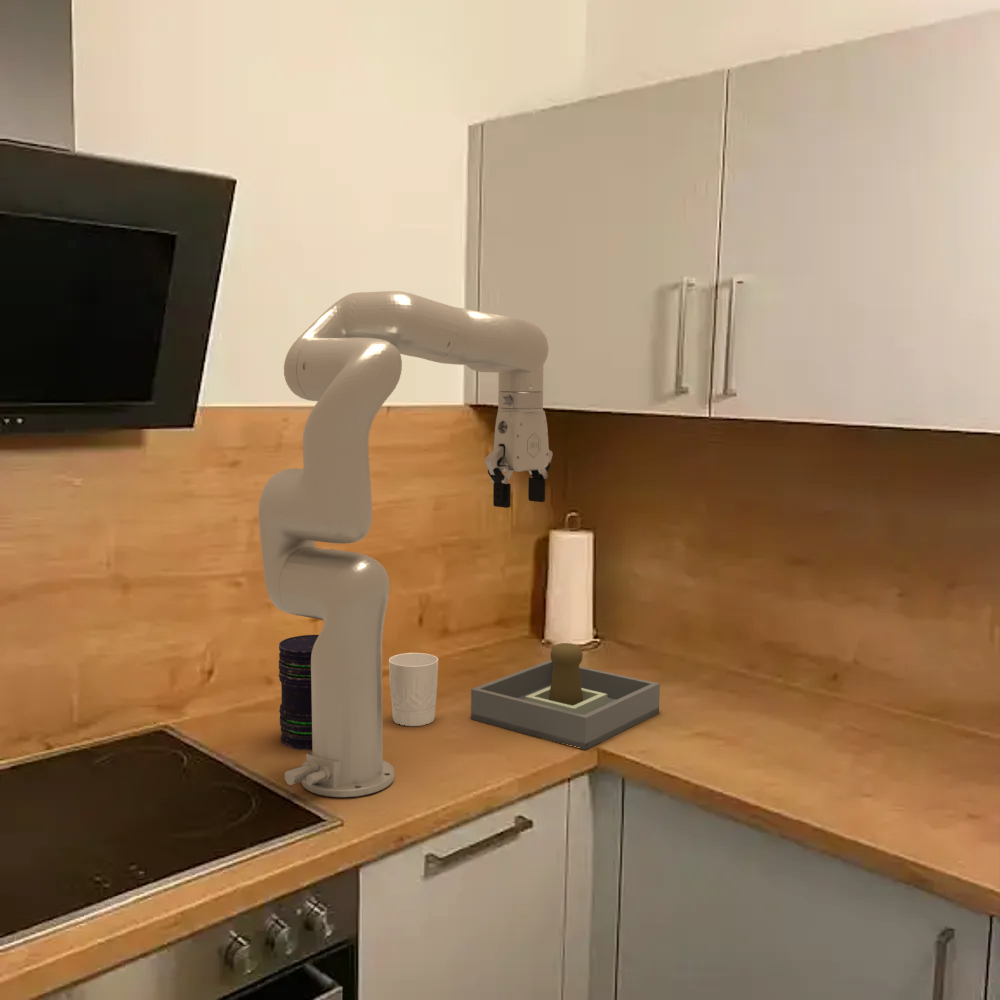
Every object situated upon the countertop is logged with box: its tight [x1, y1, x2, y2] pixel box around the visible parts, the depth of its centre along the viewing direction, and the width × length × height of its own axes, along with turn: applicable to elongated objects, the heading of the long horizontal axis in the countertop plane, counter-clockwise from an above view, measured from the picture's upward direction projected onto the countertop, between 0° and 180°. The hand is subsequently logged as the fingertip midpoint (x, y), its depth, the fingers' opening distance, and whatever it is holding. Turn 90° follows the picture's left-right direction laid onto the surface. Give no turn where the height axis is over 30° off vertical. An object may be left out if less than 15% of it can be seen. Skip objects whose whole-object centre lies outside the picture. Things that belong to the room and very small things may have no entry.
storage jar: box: [278, 634, 319, 751], centre depth 158 cm, size 10×10×15 cm
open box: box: [470, 659, 661, 751], centre depth 170 cm, size 22×22×5 cm
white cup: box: [388, 652, 439, 727], centre depth 167 cm, size 8×8×10 cm
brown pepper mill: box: [549, 642, 584, 706], centre depth 169 cm, size 6×6×11 cm
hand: (519, 504), depth 177 cm, fingers open, 9 cm apart
